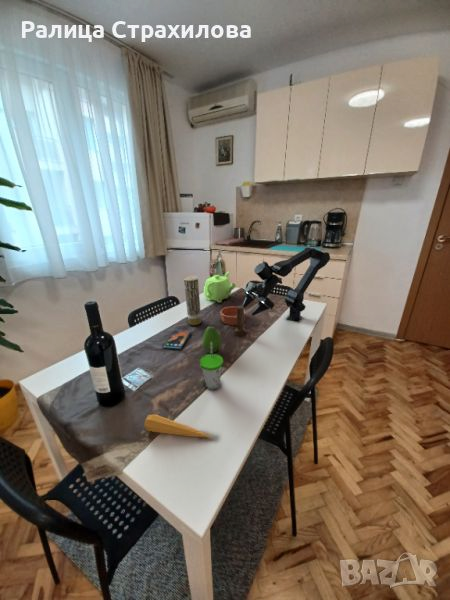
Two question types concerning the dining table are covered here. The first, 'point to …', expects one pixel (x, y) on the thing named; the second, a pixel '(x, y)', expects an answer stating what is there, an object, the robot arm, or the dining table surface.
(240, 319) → the stirring stick
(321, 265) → the robot arm
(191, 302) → the wooden log
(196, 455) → the dining table surface
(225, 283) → the teapot
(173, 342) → the smartphone
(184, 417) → the dining table surface
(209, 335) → the avocado
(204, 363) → the cup
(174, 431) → the carrot
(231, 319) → the bowl
